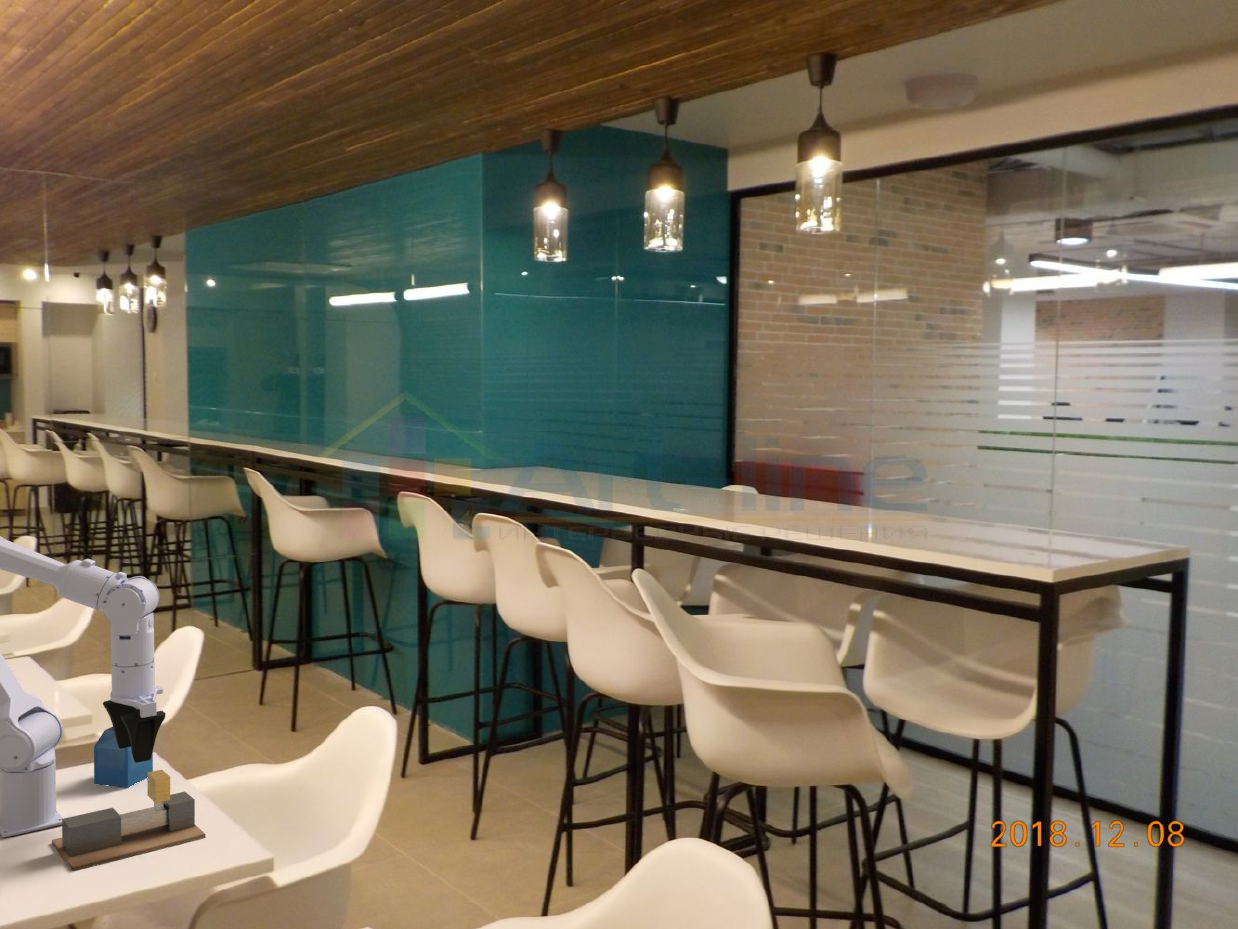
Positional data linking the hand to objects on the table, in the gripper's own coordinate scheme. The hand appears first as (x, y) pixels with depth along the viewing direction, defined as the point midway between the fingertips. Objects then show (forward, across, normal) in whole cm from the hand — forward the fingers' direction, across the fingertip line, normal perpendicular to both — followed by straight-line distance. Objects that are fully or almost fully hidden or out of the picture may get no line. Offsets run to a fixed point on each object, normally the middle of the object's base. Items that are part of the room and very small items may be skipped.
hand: (134, 753), depth 153 cm
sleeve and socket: (+10, -6, +2) cm, 12 cm away
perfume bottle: (+11, +19, -4) cm, 22 cm away
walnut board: (+10, -6, +2) cm, 12 cm away
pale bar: (+9, -6, 0) cm, 11 cm away
